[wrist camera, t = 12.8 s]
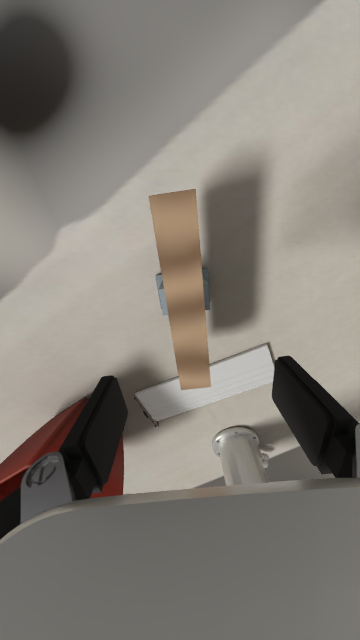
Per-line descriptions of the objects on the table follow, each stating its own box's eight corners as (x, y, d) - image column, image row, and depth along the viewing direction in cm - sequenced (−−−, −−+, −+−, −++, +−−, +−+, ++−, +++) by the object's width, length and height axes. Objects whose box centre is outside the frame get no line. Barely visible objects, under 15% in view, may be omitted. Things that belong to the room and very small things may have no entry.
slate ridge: (209, 301, 33) (216, 315, 27) (161, 307, 34) (157, 322, 27) (207, 268, 31) (214, 274, 25) (155, 275, 31) (150, 283, 25)
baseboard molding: (276, 381, 42) (263, 341, 38) (283, 391, 39) (270, 348, 35) (159, 421, 47) (136, 389, 43) (158, 432, 44) (133, 399, 40)
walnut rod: (206, 365, 31) (210, 387, 26) (180, 368, 31) (181, 390, 26) (191, 200, 21) (195, 188, 17) (154, 205, 21) (148, 196, 17)
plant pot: (85, 380, 41) (29, 465, 25) (141, 426, 47) (123, 517, 31) (32, 416, 45) (-44, 507, 29) (89, 454, 51) (51, 546, 36)
